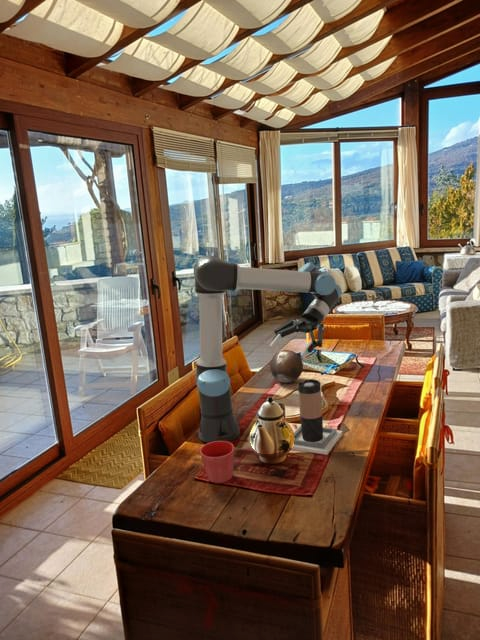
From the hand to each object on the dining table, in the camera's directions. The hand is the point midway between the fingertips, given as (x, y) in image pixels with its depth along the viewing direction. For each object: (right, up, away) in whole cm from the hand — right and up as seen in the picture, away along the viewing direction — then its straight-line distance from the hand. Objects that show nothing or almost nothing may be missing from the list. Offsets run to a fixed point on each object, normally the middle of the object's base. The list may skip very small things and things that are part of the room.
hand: (286, 352), depth 185 cm
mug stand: (+9, -30, -5) cm, 32 cm away
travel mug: (+9, -29, -6) cm, 31 cm away
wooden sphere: (+6, -17, +54) cm, 57 cm away
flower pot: (-23, -38, -23) cm, 50 cm away
